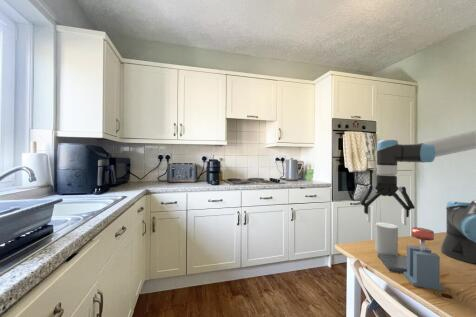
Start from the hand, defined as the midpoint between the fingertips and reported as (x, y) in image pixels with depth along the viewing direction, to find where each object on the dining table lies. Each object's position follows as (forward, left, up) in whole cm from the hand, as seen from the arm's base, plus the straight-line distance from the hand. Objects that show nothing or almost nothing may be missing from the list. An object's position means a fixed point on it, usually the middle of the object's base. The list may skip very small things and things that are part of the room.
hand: (385, 222), depth 94 cm
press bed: (-1, +12, -13) cm, 18 cm away
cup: (0, 0, -13) cm, 13 cm away
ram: (-3, +23, -6) cm, 24 cm away
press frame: (-3, +23, -13) cm, 27 cm away
